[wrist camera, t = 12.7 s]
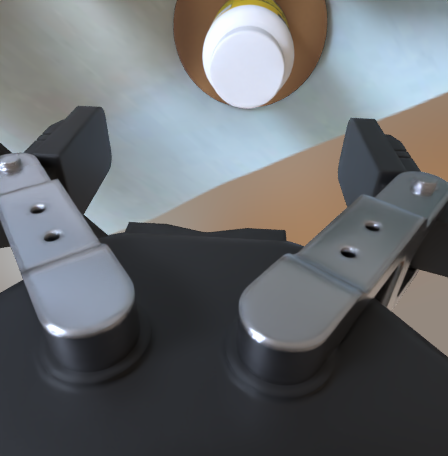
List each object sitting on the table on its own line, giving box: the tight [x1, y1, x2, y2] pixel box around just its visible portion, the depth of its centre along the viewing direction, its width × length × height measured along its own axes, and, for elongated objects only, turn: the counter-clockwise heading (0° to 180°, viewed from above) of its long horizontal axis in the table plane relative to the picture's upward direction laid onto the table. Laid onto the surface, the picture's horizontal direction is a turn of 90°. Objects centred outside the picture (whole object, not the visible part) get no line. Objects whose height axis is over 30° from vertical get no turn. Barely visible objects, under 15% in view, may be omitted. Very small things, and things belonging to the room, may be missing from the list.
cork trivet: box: [173, 0, 327, 107], centre depth 29 cm, size 11×11×1 cm
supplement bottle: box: [202, 0, 294, 109], centre depth 25 cm, size 5×5×10 cm
